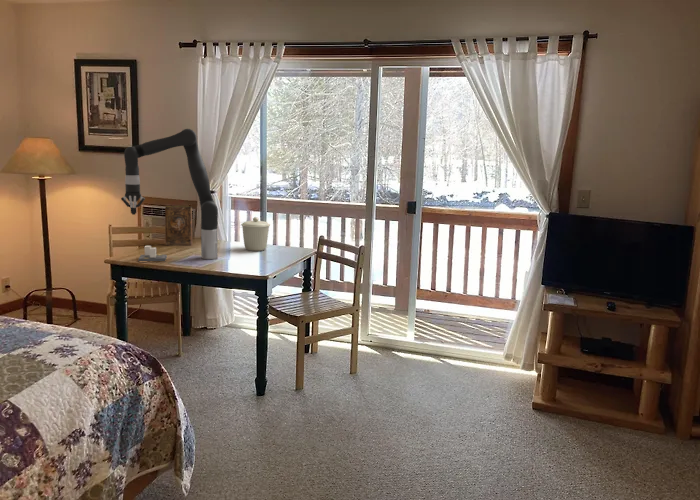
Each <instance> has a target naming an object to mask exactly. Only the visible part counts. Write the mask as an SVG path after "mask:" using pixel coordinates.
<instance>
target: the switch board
mask: <svg viewBox="0 0 700 500" xmlns="http://www.w3.org/2000/svg"><path fill="white" fill-rule="evenodd" d="M166 258H168V255H167V254H156V258H150V256H145V254H140V256H139V257H138V262H139V261H165V260H166V261H167V259H166ZM166 261H165V262H166Z"/></svg>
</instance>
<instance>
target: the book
mask: <svg viewBox="0 0 700 500" xmlns="http://www.w3.org/2000/svg"><path fill="white" fill-rule="evenodd" d="M164 217H165V218H164V219H165V220H164V222H165V223H164V226H165V229H164V230H165V245H166V246H167V247H168V246H170V247H172V246H177V247H179V246H180V247H181V246H185V247H186V246H187V247H188V246H189V247H190V246H193V206H192V205H166V206H165V208H164Z"/></svg>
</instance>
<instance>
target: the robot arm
mask: <svg viewBox="0 0 700 500" xmlns="http://www.w3.org/2000/svg"><path fill="white" fill-rule="evenodd" d="M177 147H183V148H184V151H185V154H186V158H187V159H186V160H187V165H188V171H189V174H190V178H191V181H192V183H193V186H194V188H195V190H196V193H197V195H198V200H199V207H200V216H201V218H200V220H201V221H200V222H201V223H200V235H201V237H200V240H201V241H200V244H201V245H200V249H201V250H200V251H201V253H200V255H201V259H203V260H216V259H217V260H218V252H219V251H218V225H219V223H218V222H219V220H218V217H219V213H218V212H219V210H218V206H217V204H216V202H215V200H214V198H213V196H212V191H211V187H210V185H211V184H210V179H209V175H208V171H207V168H206V166H205V165H206V164H205V162H204V160H203V158H202V155H201V152H200V150H199V144H198V138H197V134H196V132H195V131H194V130H193V129H190V128H184V129H182V130H181V131H179V132H178V133H176V134H173V135H169V136H167V137H161V138H157V139H154V140H149V141H146V142H143V143H140V144H137V145H132V146H128V147H127V148H125V150H124V153H123V155H124V165H125V169H124V170H125V177H124V178H125V179H124V183H125V186H124V187H125V193H124V195H123V196H122V197H120V199H121V201H122V202H123V203H124V204H125V206H126V207H127V208H128V207H129V208H130V214H131V215H136V214H137V208H139V207H140V206H141V205H142V203H143V202H145V200H146V198H145V197H143V196H142V194H141V178H140V168H139V167H140V166H139V158H142V157H146V156H151V155H154V154H158V153H160V152H163V151H167V150H170V149H172V148H173V149H174V148H177ZM138 201H139V202H138Z"/></svg>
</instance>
